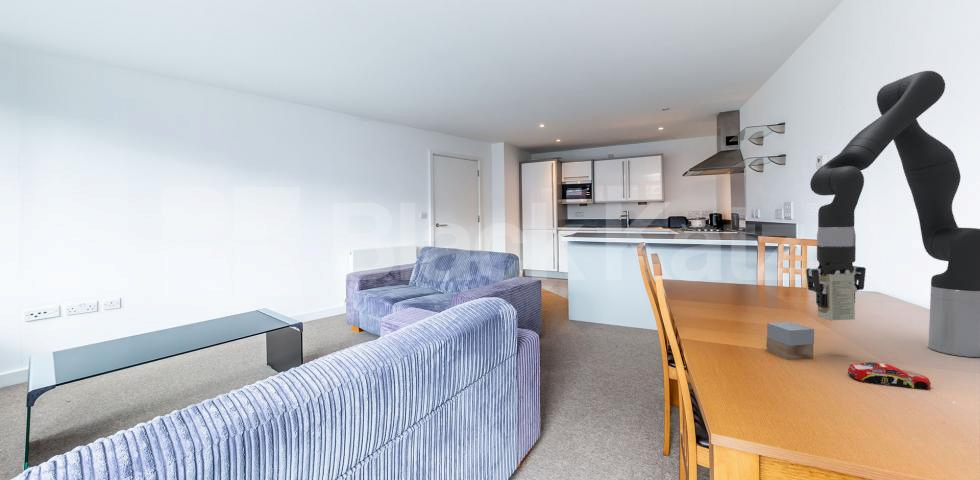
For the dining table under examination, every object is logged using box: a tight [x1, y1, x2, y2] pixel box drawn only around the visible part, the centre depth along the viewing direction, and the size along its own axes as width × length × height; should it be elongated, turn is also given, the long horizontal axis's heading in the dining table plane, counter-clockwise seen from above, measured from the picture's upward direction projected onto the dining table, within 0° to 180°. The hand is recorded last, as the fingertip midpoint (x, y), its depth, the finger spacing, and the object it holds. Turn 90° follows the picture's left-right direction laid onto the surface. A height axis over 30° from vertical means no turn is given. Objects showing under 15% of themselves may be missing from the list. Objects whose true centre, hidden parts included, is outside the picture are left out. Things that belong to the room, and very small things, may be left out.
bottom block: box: [766, 337, 814, 360], centre depth 102 cm, size 7×7×4 cm
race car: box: [847, 361, 932, 391], centre depth 84 cm, size 13×5×4 cm, turn 65°
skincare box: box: [817, 273, 856, 321], centre depth 100 cm, size 6×4×12 cm
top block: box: [766, 321, 815, 346], centre depth 102 cm, size 7×7×4 cm
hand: (835, 306), depth 100 cm, fingers closed on skincare box, 6 cm apart
